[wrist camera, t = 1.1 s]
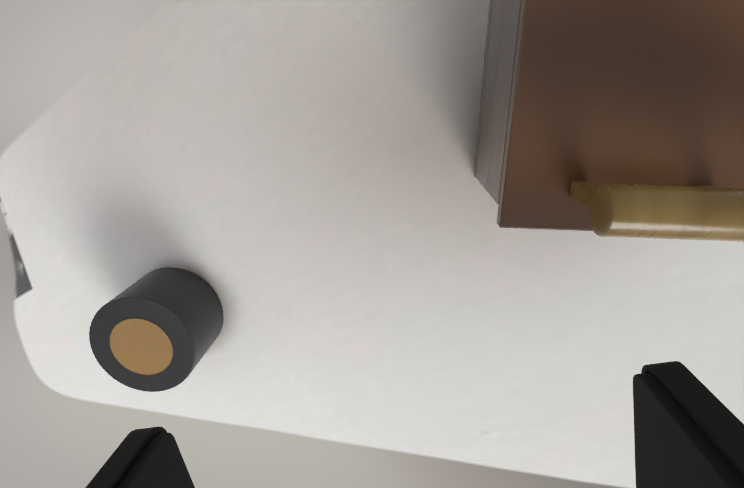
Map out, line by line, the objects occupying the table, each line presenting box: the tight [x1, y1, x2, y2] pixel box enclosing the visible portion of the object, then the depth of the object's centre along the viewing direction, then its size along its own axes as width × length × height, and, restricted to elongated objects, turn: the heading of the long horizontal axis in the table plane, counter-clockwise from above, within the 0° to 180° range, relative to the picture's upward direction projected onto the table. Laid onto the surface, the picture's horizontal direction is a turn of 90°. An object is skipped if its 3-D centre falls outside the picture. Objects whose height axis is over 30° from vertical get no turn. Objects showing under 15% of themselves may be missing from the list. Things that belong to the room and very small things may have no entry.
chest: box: [474, 0, 522, 205], centre depth 21 cm, size 13×11×7 cm
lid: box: [497, 0, 744, 241], centre depth 16 cm, size 13×11×5 cm
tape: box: [89, 268, 223, 392], centre depth 29 cm, size 6×6×5 cm
